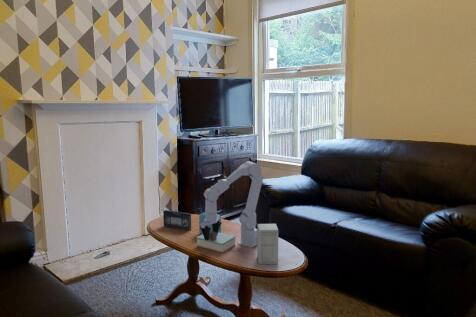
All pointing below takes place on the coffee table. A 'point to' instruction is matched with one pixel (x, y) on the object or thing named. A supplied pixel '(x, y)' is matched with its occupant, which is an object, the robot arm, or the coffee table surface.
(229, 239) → the lid flap
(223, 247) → the carton
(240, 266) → the coffee table surface
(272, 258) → the supplement box
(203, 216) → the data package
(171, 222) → the vhs cassette tape
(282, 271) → the coffee table surface
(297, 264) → the coffee table surface
